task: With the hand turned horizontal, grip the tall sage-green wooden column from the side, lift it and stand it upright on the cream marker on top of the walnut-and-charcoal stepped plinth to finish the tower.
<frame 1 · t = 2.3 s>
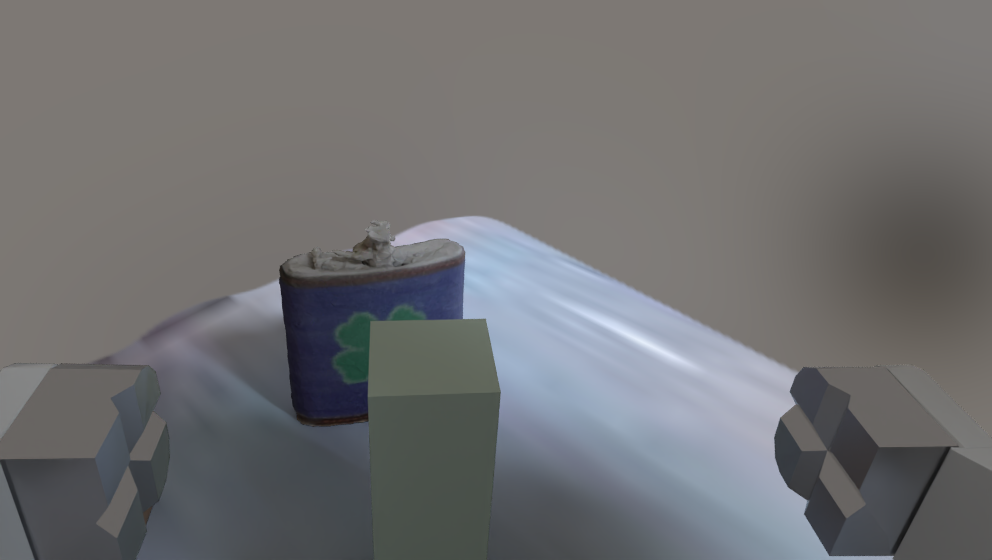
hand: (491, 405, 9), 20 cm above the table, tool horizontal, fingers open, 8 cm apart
flask: (380, 403, 40), on the table
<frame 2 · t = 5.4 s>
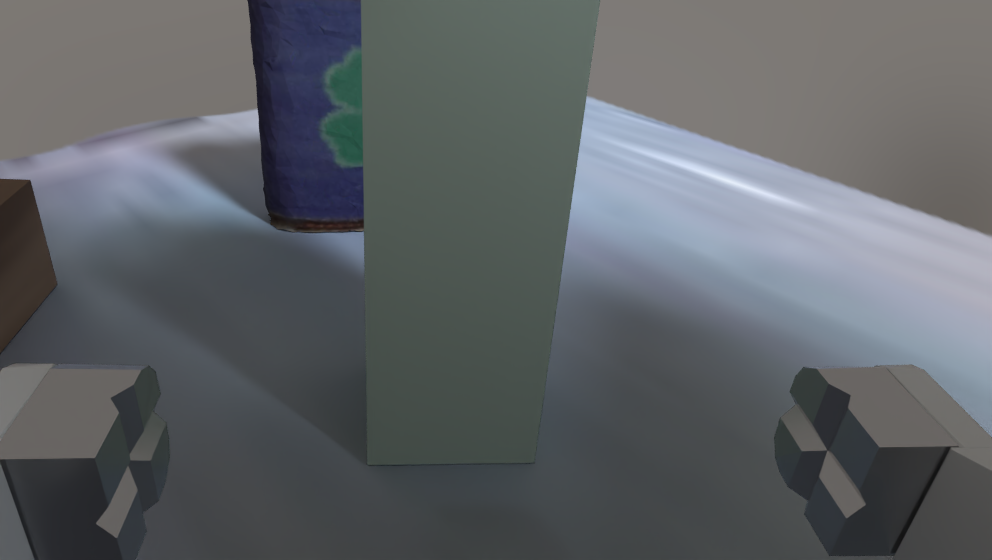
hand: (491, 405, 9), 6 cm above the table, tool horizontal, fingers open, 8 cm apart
flask: (386, 218, 29), on the table
sage column: (448, 409, 19), on the table
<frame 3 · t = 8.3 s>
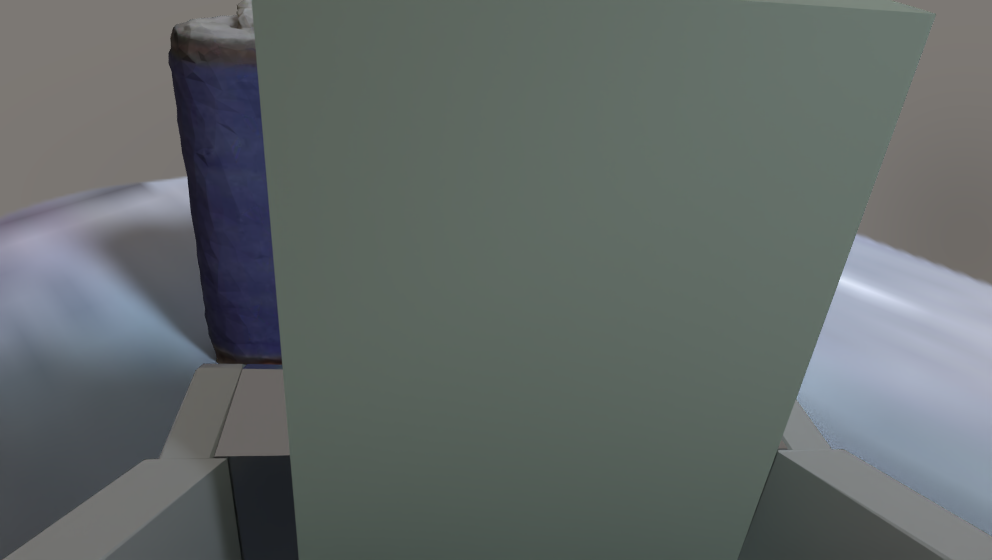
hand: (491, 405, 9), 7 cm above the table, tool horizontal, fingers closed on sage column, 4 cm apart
flask: (373, 340, 22), on the table
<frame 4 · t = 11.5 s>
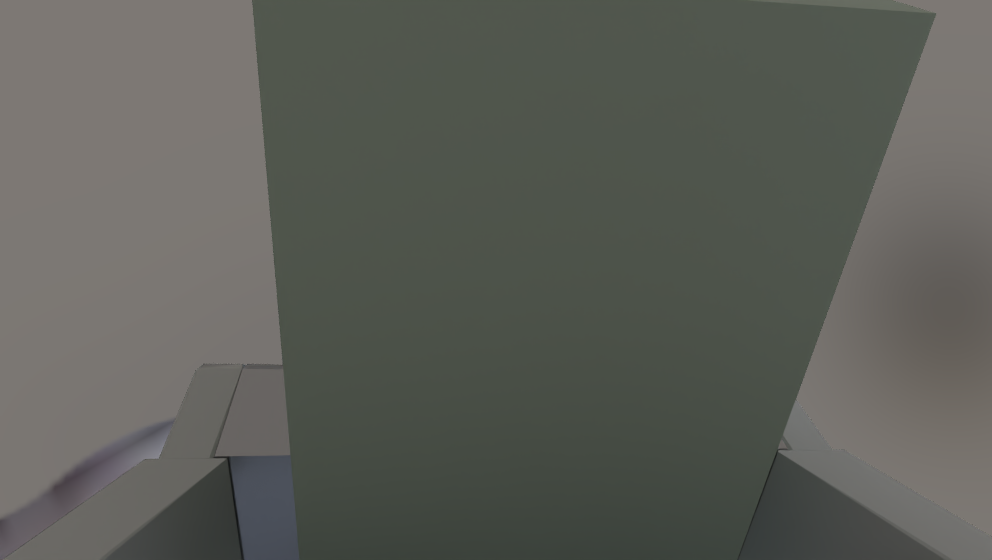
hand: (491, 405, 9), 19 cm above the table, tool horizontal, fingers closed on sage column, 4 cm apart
when the fingers open (14 cm above the table, at t = 15.0 s): sage column drops 1 cm, resting on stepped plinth.
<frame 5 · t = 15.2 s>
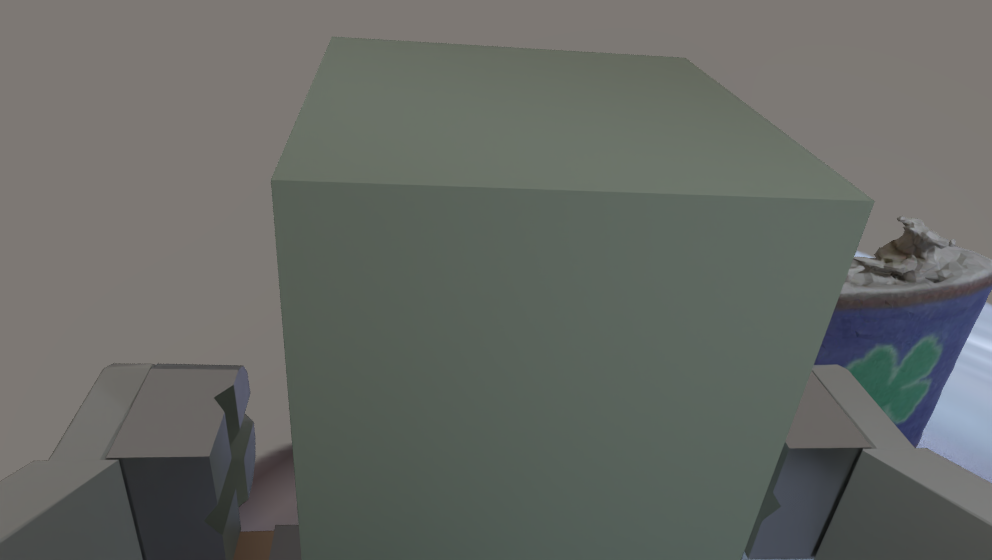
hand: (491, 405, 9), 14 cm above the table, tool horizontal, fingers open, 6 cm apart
flask: (820, 462, 30), on the table
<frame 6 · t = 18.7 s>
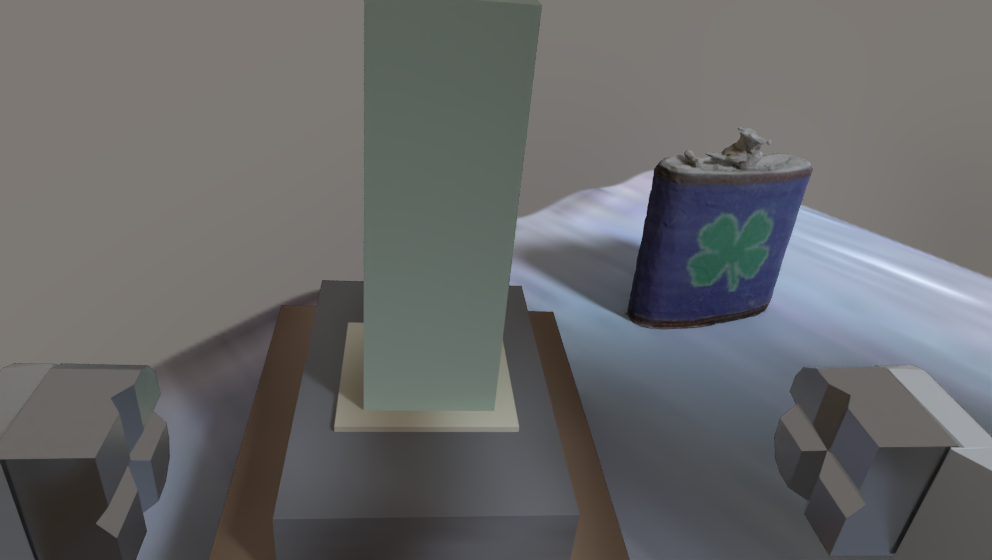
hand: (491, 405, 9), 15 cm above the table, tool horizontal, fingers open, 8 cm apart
flask: (698, 314, 41), on the table
sage column: (428, 370, 24), point 6 cm above the table, touching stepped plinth
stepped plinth: (419, 503, 27), on the table
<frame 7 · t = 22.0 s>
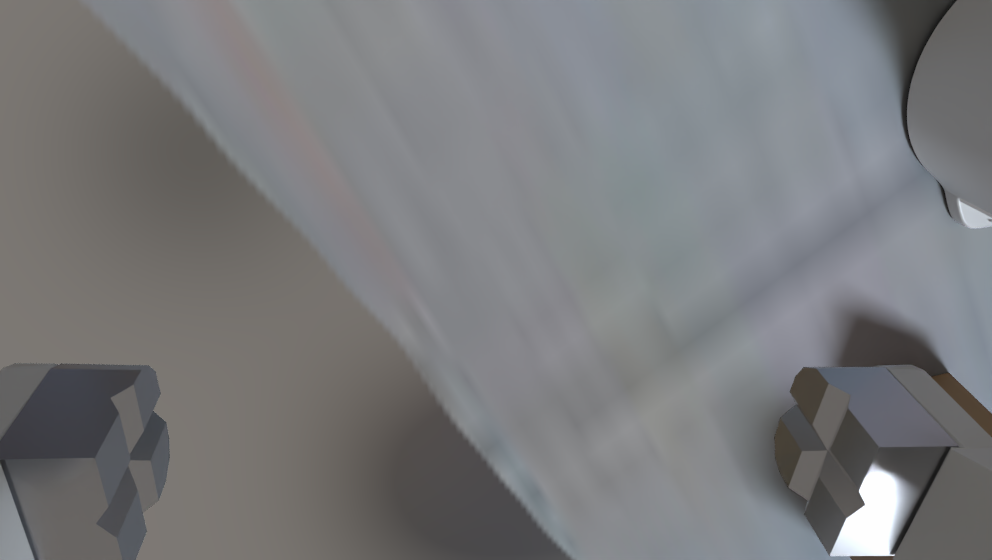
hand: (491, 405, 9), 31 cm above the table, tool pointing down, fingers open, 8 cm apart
toy building blocks: (931, 461, 58), on the table
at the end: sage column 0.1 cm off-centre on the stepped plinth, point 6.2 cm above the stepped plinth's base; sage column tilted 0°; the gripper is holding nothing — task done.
